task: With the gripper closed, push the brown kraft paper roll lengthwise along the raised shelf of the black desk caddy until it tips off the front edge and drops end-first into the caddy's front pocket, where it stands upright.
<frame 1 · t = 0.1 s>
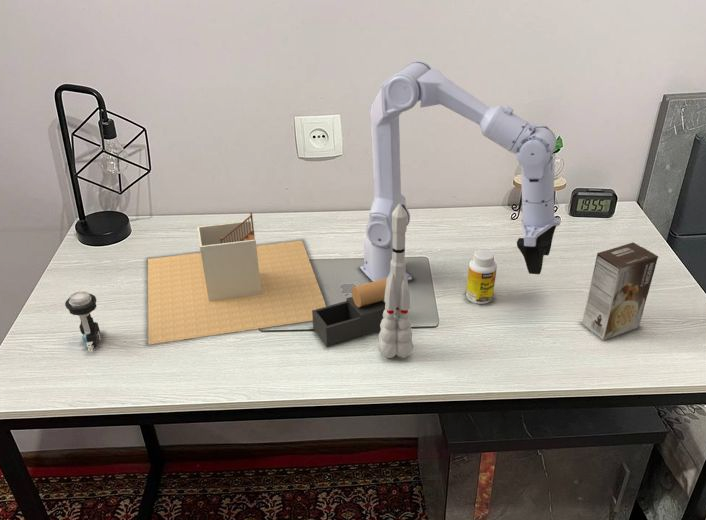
hand: (539, 263, 134), 11 cm above the table, tool pointing down, fingers open, 7 cm apart
rocket model: (395, 353, 129), on the table
supplement bottle: (479, 298, 144), on the table
caddy: (351, 328, 135), on the table
paper roll: (372, 292, 132), point 7 cm above the table, touching caddy
push button: (92, 343, 132), on the table
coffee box: (609, 327, 136), on the table
staircase: (233, 287, 147), on the table
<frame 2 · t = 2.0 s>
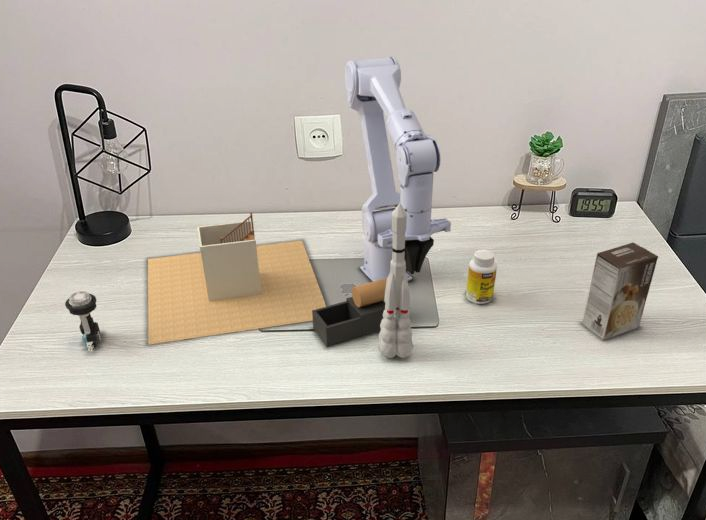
hand: (413, 270, 134), 9 cm above the table, tool pointing down, fingers closed
nothing on the table moved.
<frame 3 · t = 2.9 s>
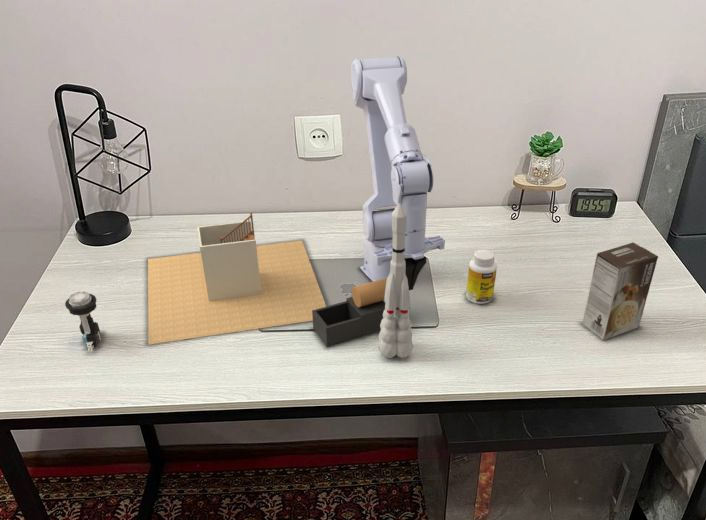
hand: (407, 287, 136), 6 cm above the table, tool pointing down, fingers closed
nothing on the table moved.
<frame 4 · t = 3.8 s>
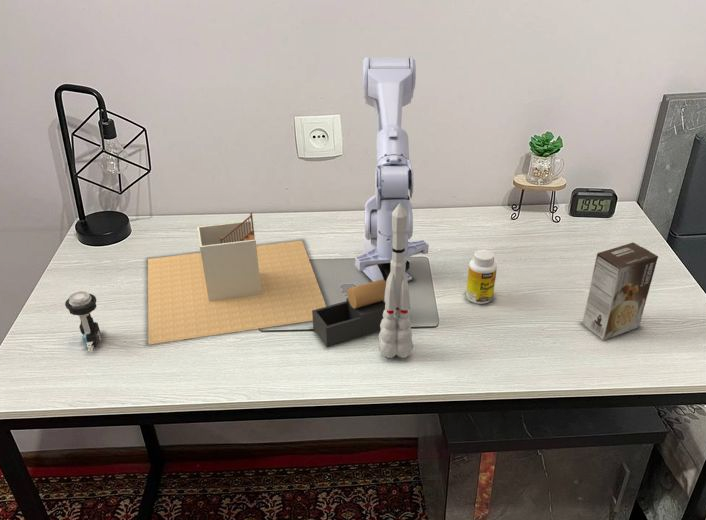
hand: (391, 292, 135), 6 cm above the table, tool pointing down, fingers closed
paper roll: (368, 293, 132), point 7 cm above the table, touching caddy, gripper
everything else where it was.
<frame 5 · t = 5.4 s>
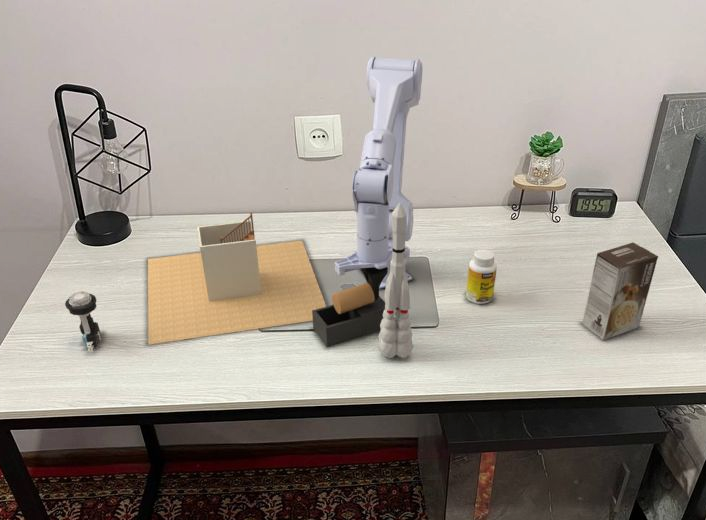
hand: (372, 297, 133), 6 cm above the table, tool pointing down, fingers closed, pressing on paper roll
paper roll: (353, 298, 131), point 7 cm above the table, touching caddy, gripper
everything else where it was.
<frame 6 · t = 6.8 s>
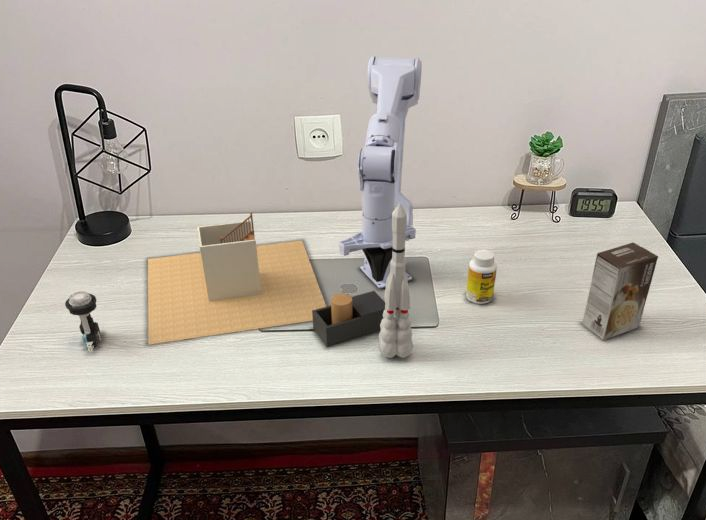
hand: (377, 278, 131), 10 cm above the table, tool pointing down, fingers closed
paper roll: (342, 314, 132), point 4 cm above the table, tilted 90°, touching caddy
everything else where it was.
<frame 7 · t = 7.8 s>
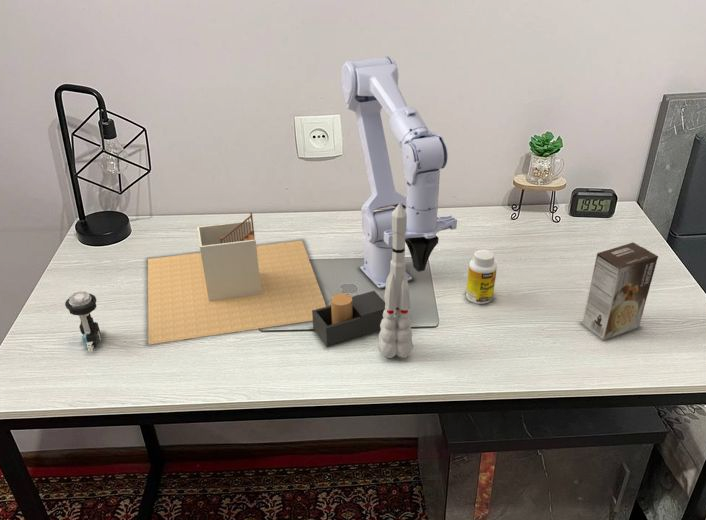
hand: (418, 268, 134), 10 cm above the table, tool pointing down, fingers closed
nothing on the table moved.
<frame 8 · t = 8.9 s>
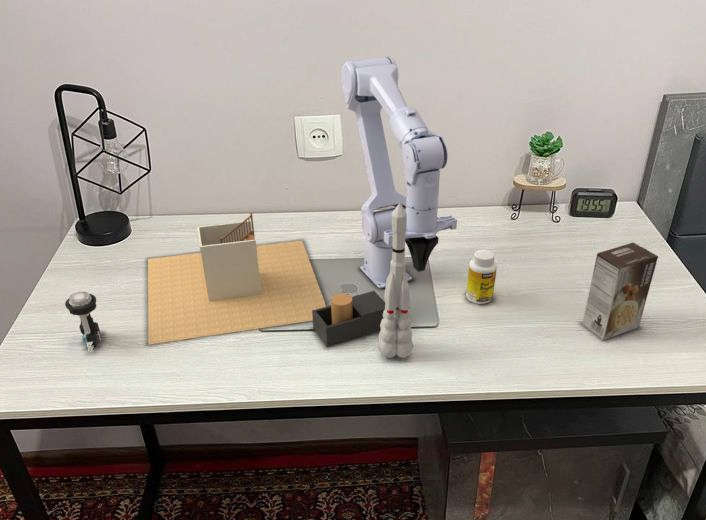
hand: (418, 268, 134), 10 cm above the table, tool pointing down, fingers closed
nothing on the table moved.
at the end: paper roll 1.0 cm from the target spot on the caddy, point 3.9 cm above the caddy's base; paper roll tilted 90° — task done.
